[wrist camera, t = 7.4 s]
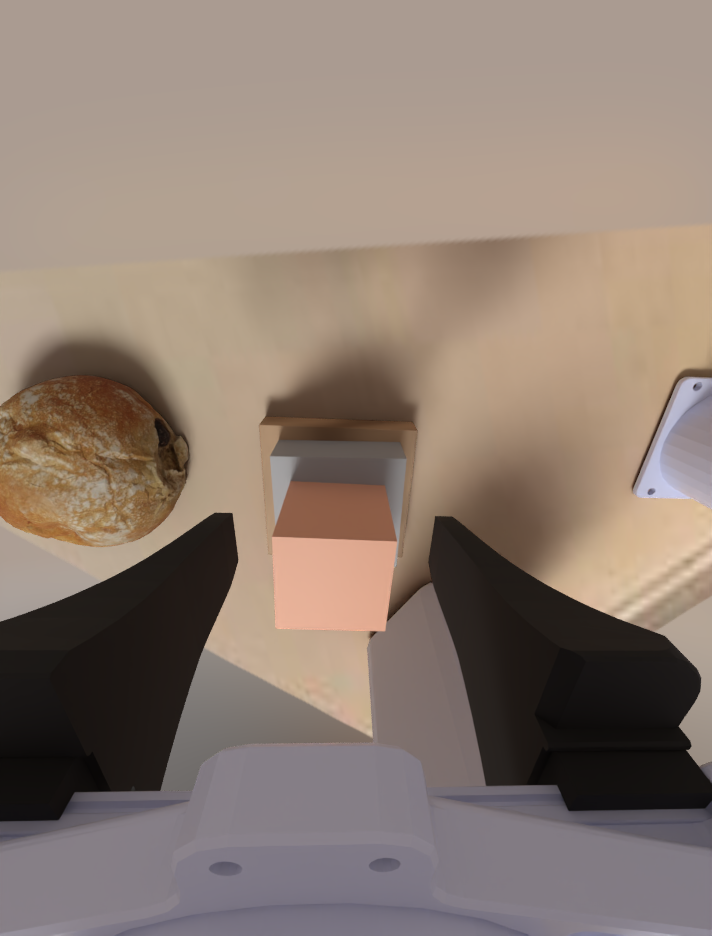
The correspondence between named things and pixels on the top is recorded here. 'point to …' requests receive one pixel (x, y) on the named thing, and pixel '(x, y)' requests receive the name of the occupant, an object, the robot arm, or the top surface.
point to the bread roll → (87, 462)
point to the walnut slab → (334, 431)
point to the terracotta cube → (333, 557)
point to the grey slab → (340, 468)
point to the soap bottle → (423, 694)
